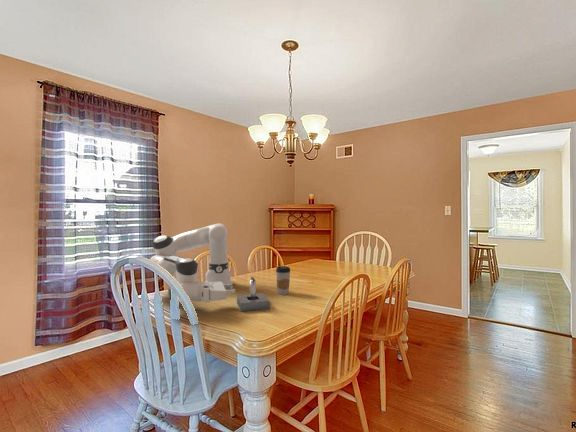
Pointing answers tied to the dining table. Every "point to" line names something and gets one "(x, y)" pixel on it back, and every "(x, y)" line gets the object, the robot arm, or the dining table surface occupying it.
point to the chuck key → (252, 289)
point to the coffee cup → (283, 279)
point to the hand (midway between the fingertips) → (233, 288)
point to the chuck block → (253, 302)
